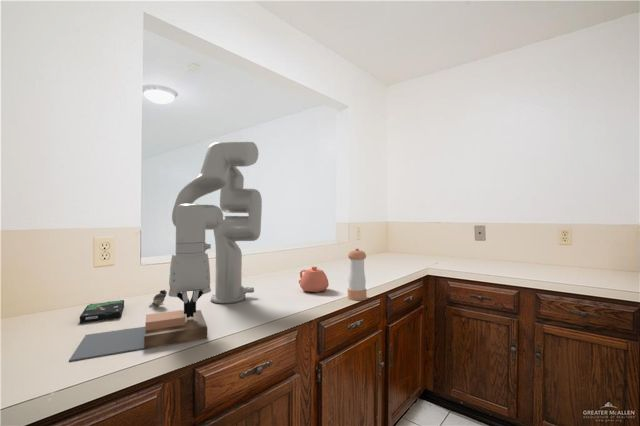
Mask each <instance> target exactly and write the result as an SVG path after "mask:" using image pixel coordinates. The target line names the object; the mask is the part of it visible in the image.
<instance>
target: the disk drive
mask: <svg viewBox="0 0 640 426" xmlns="http://www.w3.org/2000/svg"><path fill="white" fill-rule="evenodd" d="M124 308H125V300H124V299H122V300H121V299H120V300H113V301H105V302H97V303H89V304H87V305H86V307H84V309H83V311H82V313H81V314H80V316H79V324H88V323H94V322H102V321H111V320H116V319H118V320H119V319H121V318H122V316H123V312H124Z"/></svg>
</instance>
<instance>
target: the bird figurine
mask: <svg viewBox="0 0 640 426" xmlns="http://www.w3.org/2000/svg"><path fill="white" fill-rule="evenodd" d="M167 295H168V292H167V290H165V289H163V290H160V291H159V293H157V294H155V296H153V298H152V300H153V301H152V302H151V303H149V305H148V308H158V307H159V306H161V305H162V306H163V305H164V301H165V298H166V296H167Z"/></svg>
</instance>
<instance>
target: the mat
mask: <svg viewBox="0 0 640 426" xmlns="http://www.w3.org/2000/svg"><path fill="white" fill-rule="evenodd" d="M144 336H145V326H139V327H133V328H125V329H117V330H109V331H102V332H96V333H90V334H85V336H84V337H83V339H82V340H81V341H80V343H79V344H78V346H77V347H76V349H75V350H74V352H73V353H72V355H71V357H70V358H69V359H68V362H69V363H70V362H73V361H75V362H76V361H81V360H87V359H92V358H93V359H94V358H98V357H105V356H111V355H117V354H122V353H128V352H129V353H130V352H134V351H140V350H145V349H144Z"/></svg>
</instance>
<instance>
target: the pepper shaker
mask: <svg viewBox="0 0 640 426" xmlns="http://www.w3.org/2000/svg"><path fill="white" fill-rule="evenodd" d="M347 257H348V259H349V275H348V287H347V300H348V299H349V300H352V301H364V300H367V288H366V283H367V282H366V275H365V259H366V258H367V254H366V252H365V251H363V250H360V249H359V248H355V249H354V250H350V251H349V252H348V253H347Z"/></svg>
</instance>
